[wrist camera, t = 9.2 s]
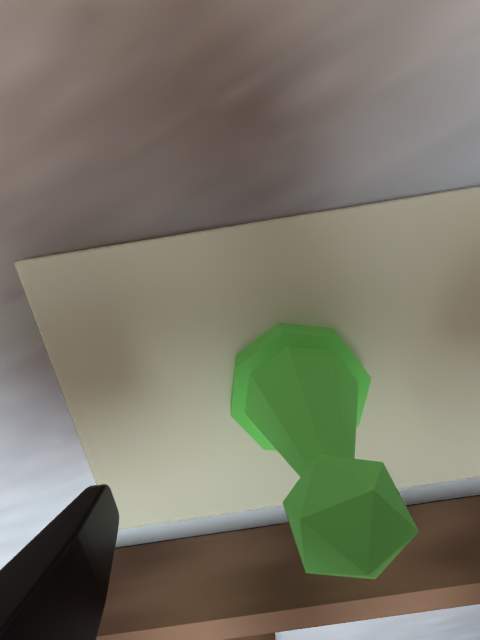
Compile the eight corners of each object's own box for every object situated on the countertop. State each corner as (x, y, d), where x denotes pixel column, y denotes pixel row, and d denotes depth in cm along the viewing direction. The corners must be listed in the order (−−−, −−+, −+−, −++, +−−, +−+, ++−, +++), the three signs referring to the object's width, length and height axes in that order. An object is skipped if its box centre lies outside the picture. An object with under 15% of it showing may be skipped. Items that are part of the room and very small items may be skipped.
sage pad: (515, 180, 10) (529, 179, 9) (485, 464, 13) (495, 474, 13) (23, 259, 10) (13, 262, 10) (117, 518, 14) (113, 530, 13)
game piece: (210, 342, 11) (191, 511, 5) (350, 302, 10) (497, 434, 5) (248, 453, 12) (267, 681, 6) (372, 421, 12) (505, 629, 6)
